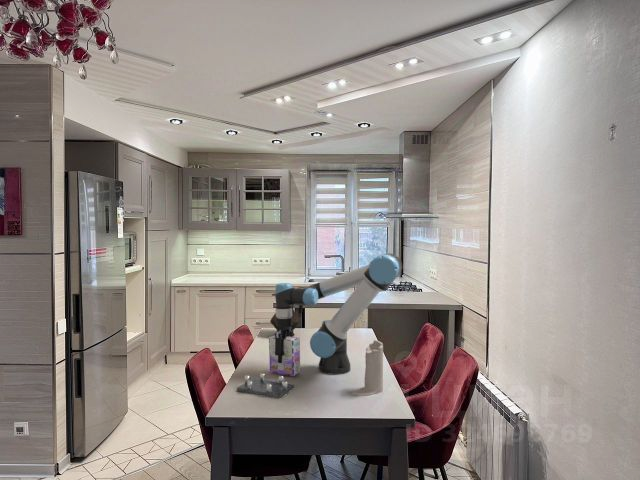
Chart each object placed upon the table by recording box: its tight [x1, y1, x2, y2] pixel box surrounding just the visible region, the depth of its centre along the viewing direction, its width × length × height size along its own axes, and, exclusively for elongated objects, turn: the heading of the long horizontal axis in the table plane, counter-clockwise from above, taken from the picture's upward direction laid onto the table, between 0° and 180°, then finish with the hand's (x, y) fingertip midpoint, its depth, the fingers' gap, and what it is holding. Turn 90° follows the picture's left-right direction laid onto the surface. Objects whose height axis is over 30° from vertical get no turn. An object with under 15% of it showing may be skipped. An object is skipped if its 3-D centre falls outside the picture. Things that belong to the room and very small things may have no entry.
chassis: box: [236, 372, 295, 399], centre depth 175 cm, size 20×12×4 cm, turn 67°
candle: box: [351, 339, 384, 397], centre depth 173 cm, size 7×14×20 cm, turn 119°
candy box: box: [268, 334, 301, 377], centre depth 194 cm, size 14×6×16 cm, turn 58°
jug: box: [269, 286, 304, 337], centre depth 264 cm, size 21×18×30 cm
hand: (284, 367), depth 194 cm, fingers closed on candy box, 6 cm apart
